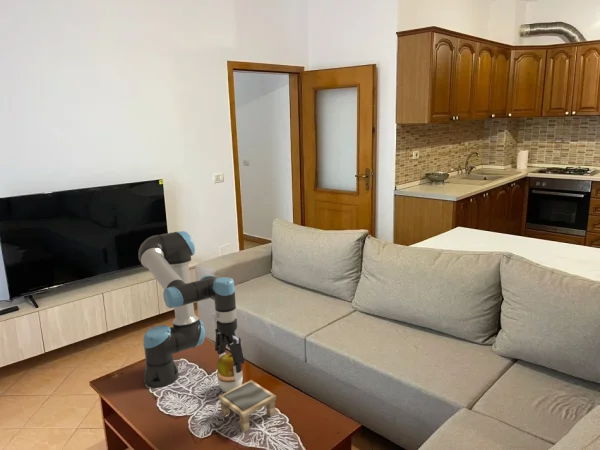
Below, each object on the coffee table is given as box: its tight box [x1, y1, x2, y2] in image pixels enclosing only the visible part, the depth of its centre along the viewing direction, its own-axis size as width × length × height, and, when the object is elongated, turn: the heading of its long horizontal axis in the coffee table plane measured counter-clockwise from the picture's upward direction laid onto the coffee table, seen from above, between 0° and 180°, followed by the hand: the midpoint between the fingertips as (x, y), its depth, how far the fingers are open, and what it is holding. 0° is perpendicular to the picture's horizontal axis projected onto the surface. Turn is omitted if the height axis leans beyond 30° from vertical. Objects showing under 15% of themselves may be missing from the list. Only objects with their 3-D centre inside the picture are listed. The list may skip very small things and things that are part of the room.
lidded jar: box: [216, 370, 244, 393], centre depth 196 cm, size 11×11×9 cm
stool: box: [218, 379, 277, 433], centre depth 179 cm, size 16×16×8 cm
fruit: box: [216, 353, 244, 377], centre depth 174 cm, size 10×9×8 cm
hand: (230, 374), depth 175 cm, fingers closed on fruit, 9 cm apart
